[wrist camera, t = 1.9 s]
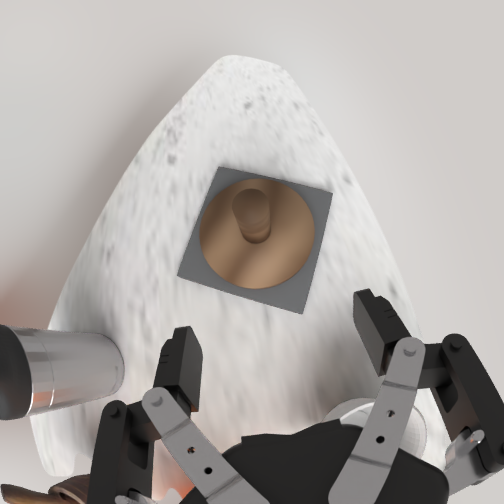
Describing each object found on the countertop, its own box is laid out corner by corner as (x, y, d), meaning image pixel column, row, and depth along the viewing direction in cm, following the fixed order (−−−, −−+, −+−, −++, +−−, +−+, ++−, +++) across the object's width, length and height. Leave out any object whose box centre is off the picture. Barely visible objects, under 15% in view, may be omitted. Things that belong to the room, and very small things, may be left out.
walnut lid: (186, 270, 35) (161, 253, 27) (222, 173, 38) (209, 137, 30) (296, 303, 32) (302, 295, 25) (324, 197, 36) (334, 163, 28)
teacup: (265, 409, 30) (260, 438, 21) (379, 365, 30) (415, 375, 21) (295, 482, 27) (298, 525, 17) (400, 440, 27) (434, 467, 17)
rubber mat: (179, 277, 36) (176, 275, 35) (220, 170, 39) (218, 166, 38) (301, 314, 33) (302, 313, 32) (331, 196, 37) (332, 193, 36)
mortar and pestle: (87, 484, 28) (11, 526, 8) (80, 443, 30) (-10, 477, 11) (148, 506, 26) (82, 573, 7) (142, 465, 29) (58, 529, 10)
